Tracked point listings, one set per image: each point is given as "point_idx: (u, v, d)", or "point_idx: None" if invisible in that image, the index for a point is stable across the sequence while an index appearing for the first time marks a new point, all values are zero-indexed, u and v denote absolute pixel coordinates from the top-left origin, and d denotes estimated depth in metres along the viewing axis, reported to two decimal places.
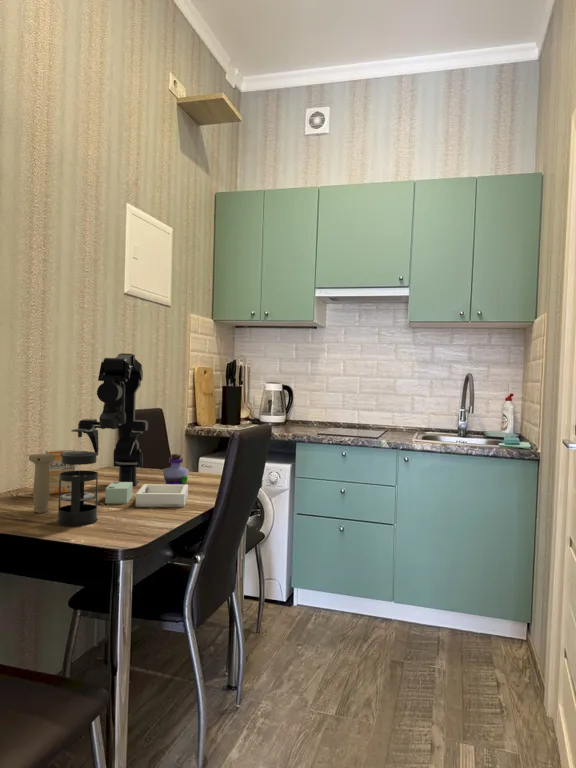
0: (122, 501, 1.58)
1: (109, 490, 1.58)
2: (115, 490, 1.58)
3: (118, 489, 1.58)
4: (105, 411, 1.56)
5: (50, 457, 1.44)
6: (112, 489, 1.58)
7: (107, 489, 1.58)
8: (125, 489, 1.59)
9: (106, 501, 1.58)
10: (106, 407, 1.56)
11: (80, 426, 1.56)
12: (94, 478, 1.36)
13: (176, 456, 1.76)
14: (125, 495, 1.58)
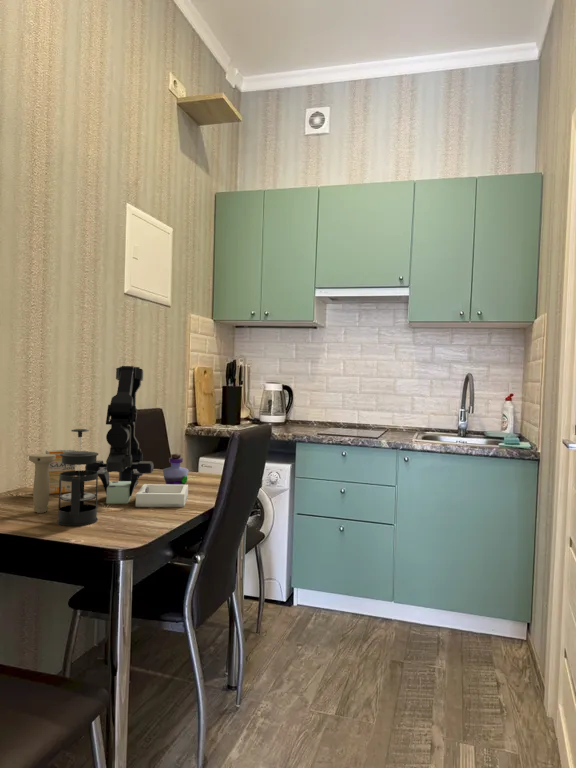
0: (123, 500, 1.59)
1: (110, 489, 1.58)
2: (116, 489, 1.58)
3: (119, 488, 1.58)
4: (112, 454, 1.59)
5: (50, 457, 1.44)
6: (113, 488, 1.58)
7: (108, 488, 1.58)
8: (126, 488, 1.59)
9: (107, 500, 1.58)
10: (113, 450, 1.60)
11: (87, 468, 1.59)
12: (94, 478, 1.36)
13: (176, 456, 1.76)
14: (126, 494, 1.59)
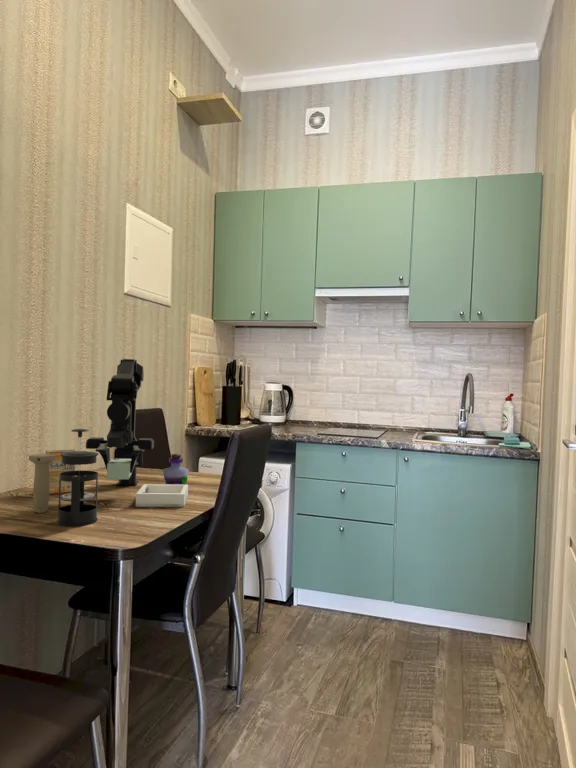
0: (124, 476, 1.58)
1: (111, 465, 1.58)
2: (117, 465, 1.58)
3: (120, 464, 1.58)
4: (112, 430, 1.59)
5: (50, 457, 1.44)
6: (114, 464, 1.58)
7: (109, 464, 1.58)
8: (127, 464, 1.59)
9: (108, 476, 1.58)
10: (113, 426, 1.60)
11: (88, 445, 1.59)
12: (94, 478, 1.36)
13: (176, 456, 1.76)
14: (127, 470, 1.58)
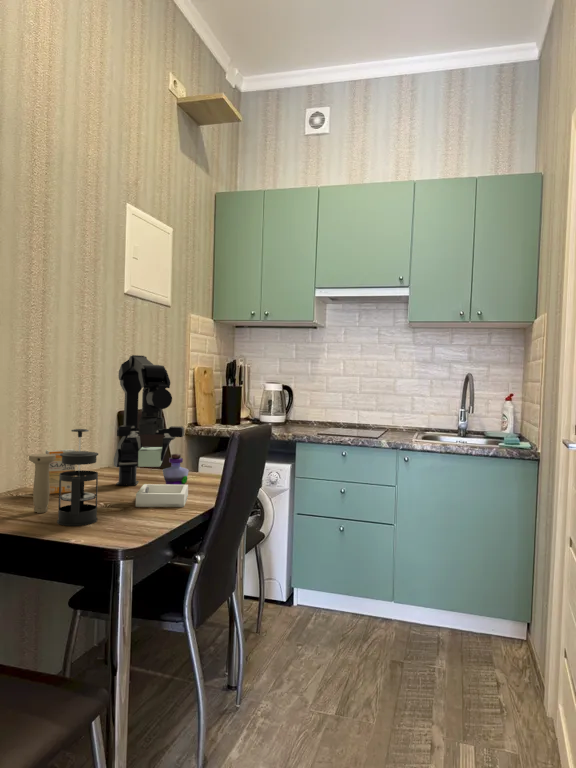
0: (155, 463, 1.57)
1: (142, 452, 1.57)
2: (148, 452, 1.57)
3: (151, 451, 1.57)
4: (143, 417, 1.58)
5: (50, 457, 1.44)
6: (145, 451, 1.57)
7: (140, 451, 1.57)
8: (158, 451, 1.58)
9: (139, 463, 1.57)
10: (144, 413, 1.59)
11: (119, 432, 1.59)
12: (94, 478, 1.36)
13: (176, 456, 1.76)
14: (158, 457, 1.58)
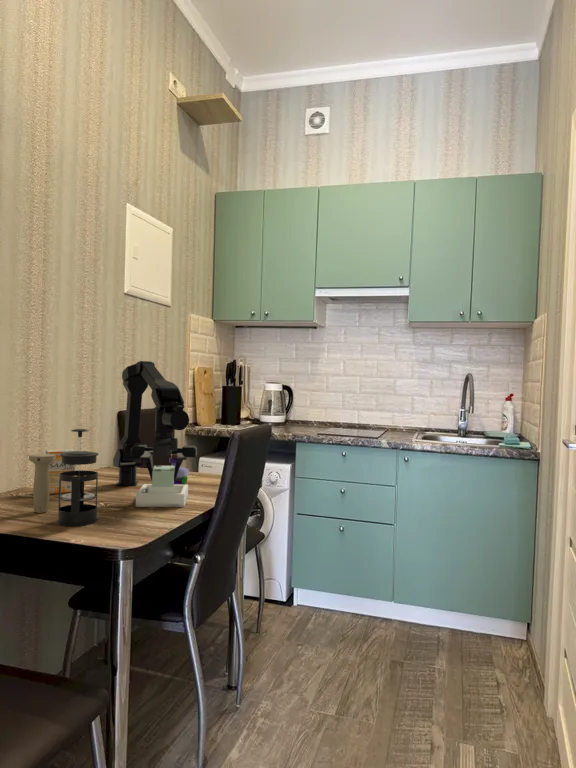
0: (169, 484, 1.58)
1: (156, 473, 1.57)
2: (162, 473, 1.58)
3: (165, 472, 1.58)
4: (157, 437, 1.58)
5: (50, 457, 1.44)
6: (159, 472, 1.57)
7: (154, 472, 1.57)
8: (172, 472, 1.58)
9: (153, 484, 1.57)
10: (158, 433, 1.59)
11: (132, 452, 1.59)
12: (94, 478, 1.36)
13: (176, 456, 1.76)
14: (172, 478, 1.58)
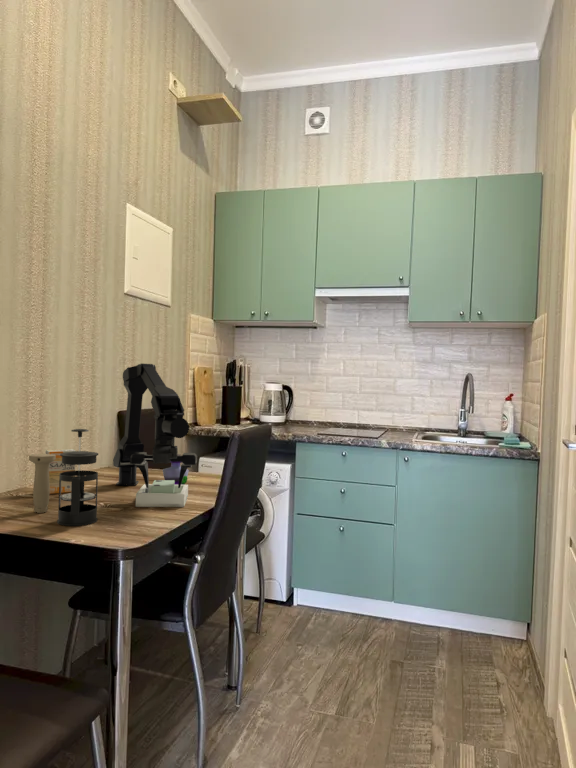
0: None
1: (155, 488, 1.57)
2: (161, 488, 1.58)
3: (164, 487, 1.58)
4: (157, 445, 1.58)
5: (50, 457, 1.44)
6: (158, 487, 1.57)
7: (153, 487, 1.57)
8: (171, 487, 1.58)
9: None
10: (158, 441, 1.59)
11: (132, 460, 1.59)
12: (94, 478, 1.36)
13: None
14: None
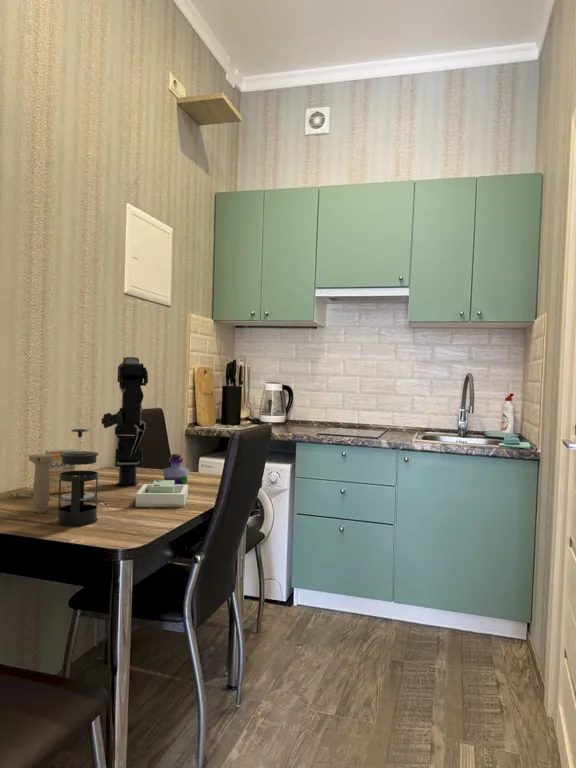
0: None
1: (155, 488, 1.57)
2: (161, 488, 1.58)
3: (164, 487, 1.58)
4: None
5: (50, 457, 1.44)
6: (158, 487, 1.57)
7: (153, 487, 1.57)
8: (171, 487, 1.58)
9: None
10: None
11: None
12: (94, 478, 1.36)
13: (176, 456, 1.76)
14: None
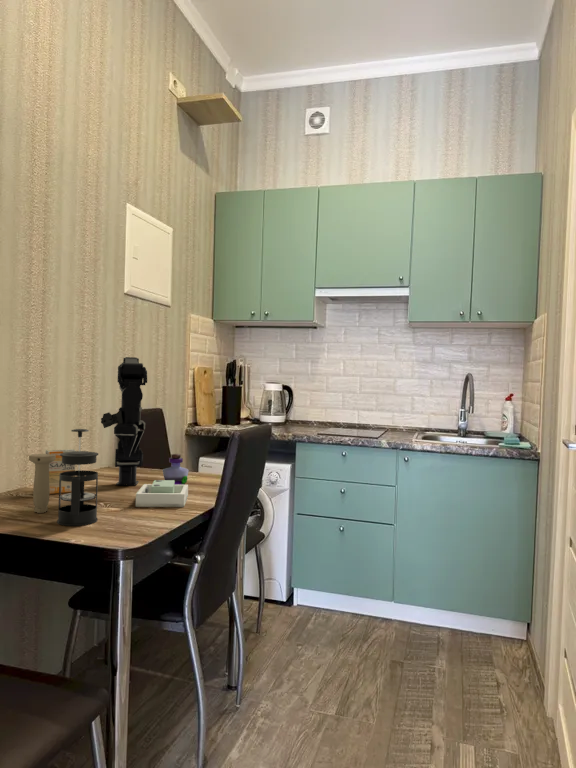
0: None
1: (155, 488, 1.57)
2: (161, 488, 1.58)
3: (164, 487, 1.58)
4: None
5: (50, 457, 1.44)
6: (158, 487, 1.57)
7: (153, 487, 1.57)
8: (171, 487, 1.58)
9: None
10: None
11: None
12: (94, 478, 1.36)
13: (176, 456, 1.76)
14: None
